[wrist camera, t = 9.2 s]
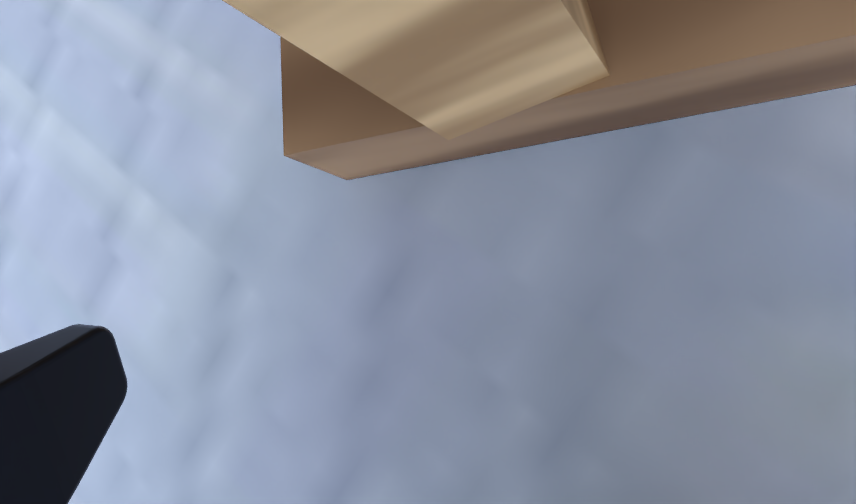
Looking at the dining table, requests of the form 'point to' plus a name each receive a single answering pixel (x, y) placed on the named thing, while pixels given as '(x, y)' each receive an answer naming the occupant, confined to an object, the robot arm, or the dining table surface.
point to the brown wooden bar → (595, 102)
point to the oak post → (446, 52)
